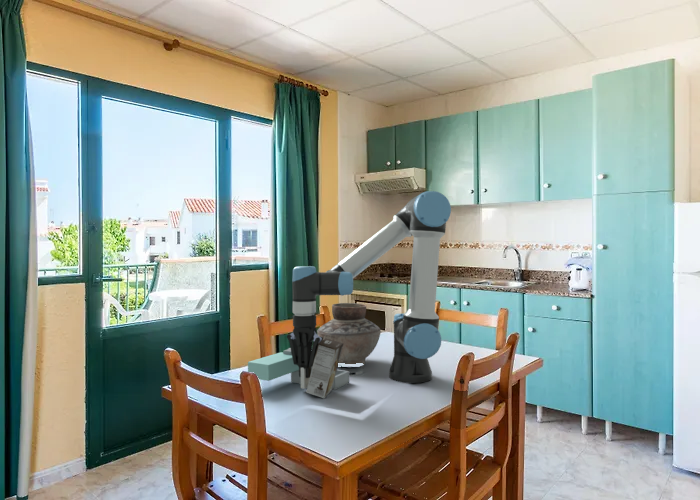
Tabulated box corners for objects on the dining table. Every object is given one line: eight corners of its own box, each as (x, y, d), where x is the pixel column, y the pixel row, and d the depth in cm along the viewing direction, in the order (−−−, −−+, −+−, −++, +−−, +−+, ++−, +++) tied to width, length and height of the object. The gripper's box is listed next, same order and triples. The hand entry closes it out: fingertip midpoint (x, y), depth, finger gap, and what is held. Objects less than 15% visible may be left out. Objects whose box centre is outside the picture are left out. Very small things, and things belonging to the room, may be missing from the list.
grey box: (349, 383, 163) (349, 355, 163) (335, 389, 155) (335, 360, 155) (300, 375, 174) (300, 349, 174) (284, 381, 166) (284, 353, 166)
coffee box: (313, 384, 156) (325, 337, 155) (332, 390, 155) (344, 343, 154) (305, 392, 147) (318, 342, 146) (324, 399, 146) (337, 348, 145)
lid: (268, 380, 150) (268, 361, 150) (248, 377, 155) (247, 358, 155) (309, 366, 169) (309, 348, 169) (290, 363, 174) (290, 346, 174)
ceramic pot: (390, 361, 194) (390, 303, 194) (363, 376, 172) (363, 310, 172) (336, 355, 205) (336, 300, 205) (305, 368, 183) (305, 306, 183)
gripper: (327, 314, 153) (328, 387, 153) (295, 311, 160) (296, 381, 160) (314, 316, 147) (314, 393, 147) (281, 314, 154) (281, 387, 154)
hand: (305, 387), depth 154 cm, fingers closed
